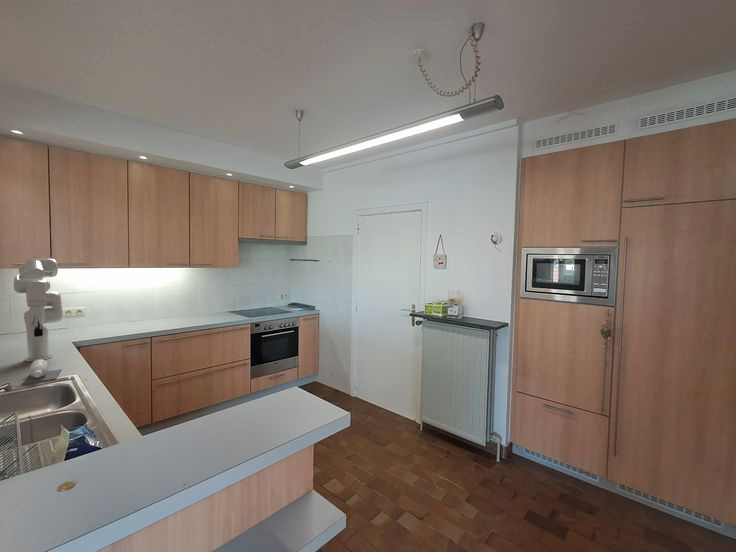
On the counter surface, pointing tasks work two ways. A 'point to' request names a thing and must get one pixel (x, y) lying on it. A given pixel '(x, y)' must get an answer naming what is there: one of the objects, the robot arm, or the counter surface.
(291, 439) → the counter surface
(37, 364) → the bath foam
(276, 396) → the counter surface
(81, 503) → the counter surface
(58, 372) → the mat
